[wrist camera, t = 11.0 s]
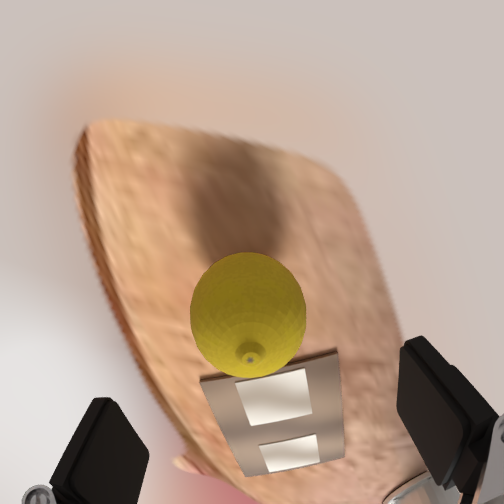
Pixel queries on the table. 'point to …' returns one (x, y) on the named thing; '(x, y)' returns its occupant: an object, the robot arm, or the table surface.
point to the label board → (281, 415)
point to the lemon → (248, 315)
